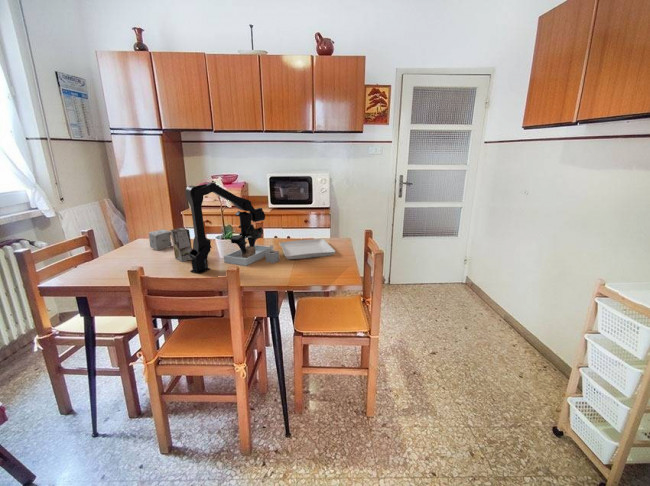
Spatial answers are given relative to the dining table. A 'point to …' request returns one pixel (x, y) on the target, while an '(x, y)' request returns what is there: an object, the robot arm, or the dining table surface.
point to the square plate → (306, 248)
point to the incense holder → (160, 239)
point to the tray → (238, 260)
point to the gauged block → (272, 255)
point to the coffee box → (181, 244)
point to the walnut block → (249, 252)
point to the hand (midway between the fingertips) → (248, 252)
